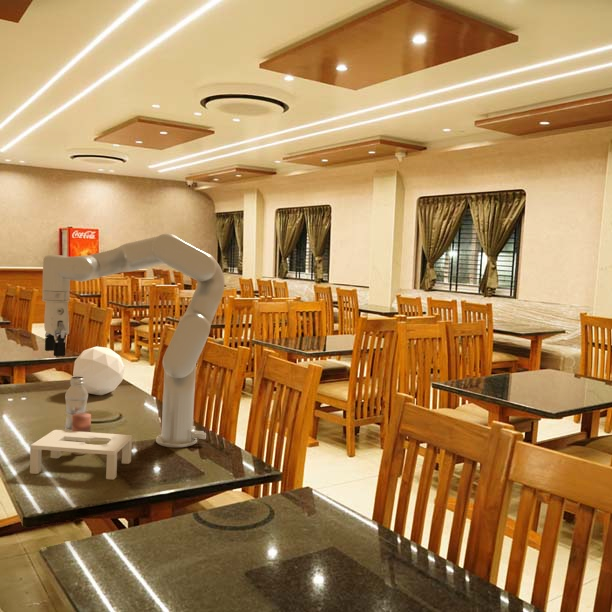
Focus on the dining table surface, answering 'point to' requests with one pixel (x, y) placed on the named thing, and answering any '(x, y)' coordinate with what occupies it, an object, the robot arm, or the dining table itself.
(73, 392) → the plastic bottle
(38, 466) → the keyhole plate
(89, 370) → the ball
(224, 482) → the dining table surface
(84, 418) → the peg
